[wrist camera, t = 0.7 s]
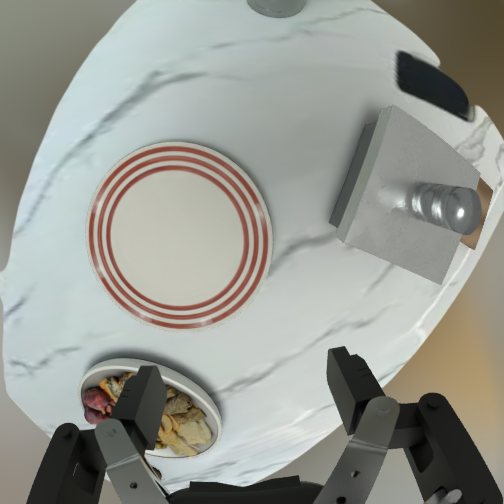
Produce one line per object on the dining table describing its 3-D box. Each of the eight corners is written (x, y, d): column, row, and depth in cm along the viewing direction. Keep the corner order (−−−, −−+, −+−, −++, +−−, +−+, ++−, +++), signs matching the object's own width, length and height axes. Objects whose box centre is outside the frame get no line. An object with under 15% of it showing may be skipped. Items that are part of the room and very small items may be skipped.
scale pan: (381, 109, 29) (393, 104, 26) (466, 172, 31) (480, 173, 28) (334, 236, 33) (343, 242, 30) (429, 277, 36) (440, 285, 33)
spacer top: (439, 176, 24) (462, 179, 21) (463, 196, 25) (485, 201, 21) (425, 217, 26) (447, 224, 22) (450, 234, 26) (472, 242, 23)
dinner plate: (108, 320, 42) (100, 329, 39) (87, 155, 35) (76, 154, 31) (269, 322, 43) (271, 333, 40) (270, 141, 36) (273, 138, 33)
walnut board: (452, 157, 37) (458, 157, 35) (488, 189, 39) (493, 190, 37) (432, 222, 40) (437, 224, 39) (469, 248, 42) (474, 250, 40)
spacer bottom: (419, 175, 28) (439, 177, 24) (444, 192, 29) (463, 196, 25) (406, 212, 30) (425, 217, 26) (432, 227, 30) (451, 233, 26)
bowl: (214, 351, 45) (211, 382, 37) (228, 446, 53) (228, 472, 45) (68, 343, 43) (49, 365, 36) (112, 435, 51) (104, 457, 44)
